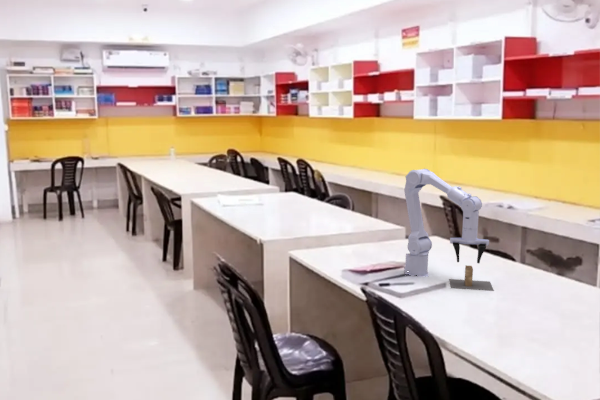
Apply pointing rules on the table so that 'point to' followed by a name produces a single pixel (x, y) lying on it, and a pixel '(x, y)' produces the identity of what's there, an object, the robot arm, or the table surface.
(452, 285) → the mat
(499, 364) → the table surface
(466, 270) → the block
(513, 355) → the table surface
